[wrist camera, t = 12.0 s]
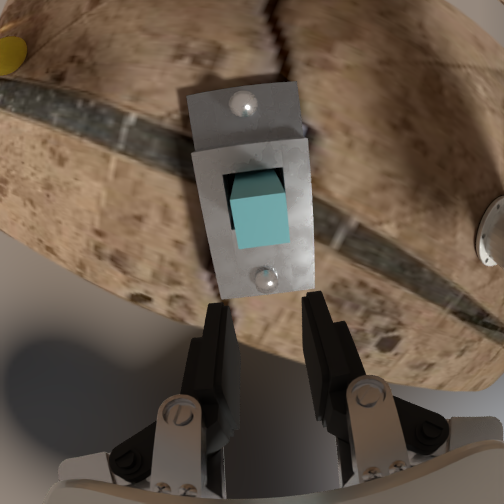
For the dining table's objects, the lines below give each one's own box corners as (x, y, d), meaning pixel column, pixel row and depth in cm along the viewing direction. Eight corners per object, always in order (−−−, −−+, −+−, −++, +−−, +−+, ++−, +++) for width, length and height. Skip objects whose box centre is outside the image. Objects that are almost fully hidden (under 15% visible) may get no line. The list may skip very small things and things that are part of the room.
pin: (273, 168, 28) (285, 192, 19) (277, 203, 30) (290, 242, 21) (235, 173, 28) (229, 200, 20) (241, 208, 30) (238, 249, 21)
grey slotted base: (293, 83, 24) (302, 77, 19) (308, 270, 34) (316, 293, 30) (190, 97, 24) (178, 93, 20) (224, 280, 35) (220, 304, 30)
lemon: (40, 33, 17) (2, 27, 10) (35, 69, 20) (-6, 68, 13) (15, 46, 17) (-22, 44, 10) (11, 80, 20) (-28, 82, 13)
